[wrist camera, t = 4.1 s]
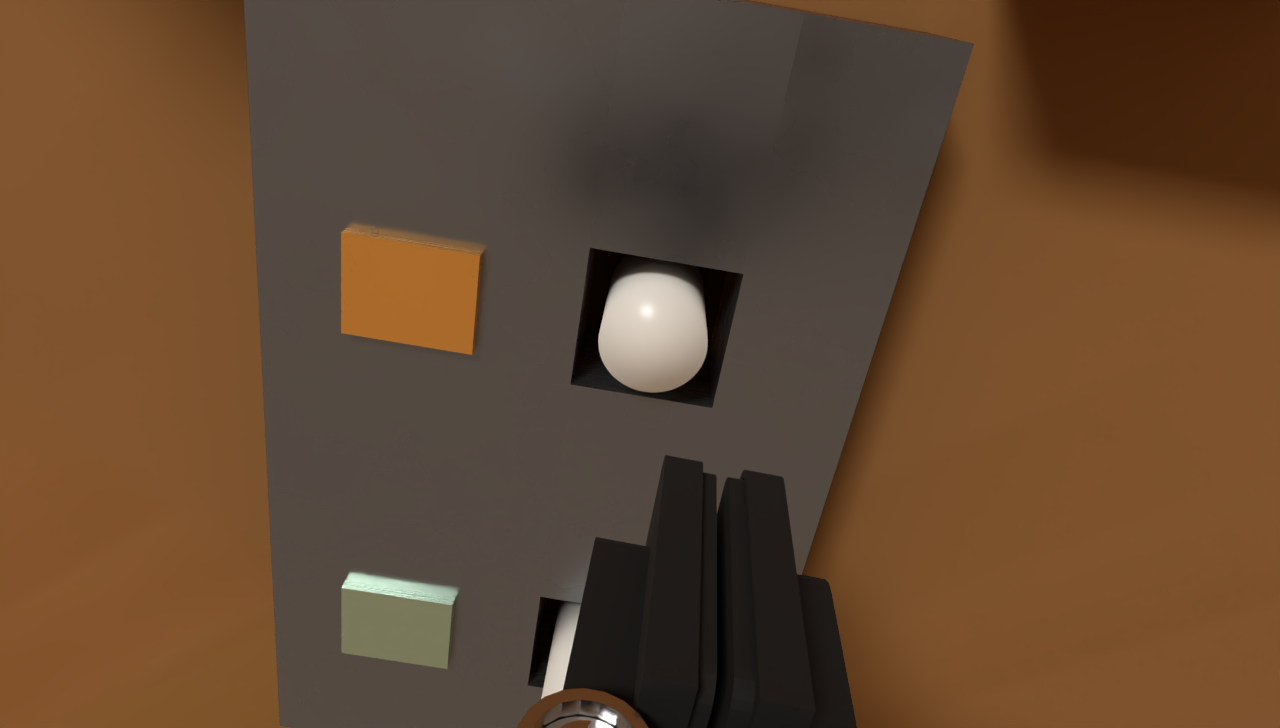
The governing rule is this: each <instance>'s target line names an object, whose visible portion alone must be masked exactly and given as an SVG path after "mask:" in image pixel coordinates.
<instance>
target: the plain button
mask: <svg viewBox="0 0 1280 728" xmlns="http://www.w3.org/2000/svg"><path fill="white" fill-rule="evenodd" d="M580 607H581V603H577V602H571V601H564V600H562V601H561V603H560V605H559V609H558V613H557V619H556V624H555V629H554V634H553V640H552V645H551V650H550V655H549V661H548V666H547V671H546V676H545V682H544V687H543V692H542V697H541V699H542V698H544V697H545V696H548V695H551V694H554V693H556V692H559V691H562V690H563V687H564V682H565V677H566V673H567V668H568V663H569V659H570V654H571V649H572V645H573V640H574V635H575V630H576V626H577V621H578V616H579V612H580Z"/></svg>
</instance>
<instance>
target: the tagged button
mask: <svg viewBox="0 0 1280 728" xmlns="http://www.w3.org/2000/svg"><path fill="white" fill-rule="evenodd" d="M598 346H599V352H600V356H601V359H602V361H603V363H604V365H605V367H606V368H607V370H608V371H609V372H610V373H611V375H612V376H613V377H614V378H616V379H617V380H618V381H619V382H621V383H622V384H624V385H626V386H628V387H630V388H632V389H635V390H639V391H643V392H665V391H669V390H672V389H675V388H677V387H679V386H681V385H683V384H685V383H686V382H688V381H689V380H690V379H691V378H692V377H694V376H695V374H696V373H697V372H698V371H699V369H700V368H701V366H702V364H703V362H704V360H705V357H706V354H707V347H708V339H707V326H706V312H705V299H704V286H703V279H702V276H701V273H700V271H699V269H698V267H697V266H694V265H688V264H682V263H676V262H670V261H665V260H659V259H653V258H647V257H641V256H635V255H630V254H627V255H626V256H624V257H623V258H622V259H621V260H620V262H619V263H618V264H617V266H616V268H615V270H614V272H613V275H612V278H611V282H610V287H609V291H608V296H607V300H606V305H605V309H604V314H603V318H602V323H601V327H600V332H599V338H598Z"/></svg>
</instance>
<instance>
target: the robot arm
mask: <svg viewBox="0 0 1280 728" xmlns="http://www.w3.org/2000/svg"><path fill="white" fill-rule="evenodd" d="M517 728H857V726H856V721H855V716H854V710H853V705H852V700H851V694H850V689H849V684H848V678H847V673H846V668H845V663H844V657H843V652H842V647H841V641H840V636H839V631H838V625H837V620H836V615H835V610H834V604H833V599H832V594H831V590H830V586H829V583H828V582H827V581H826V580H825V579H820V578H815V577H809V576H804V575H798V574H797V571H796V564H795V556H794V549H793V542H792V534H791V527H790V520H789V512H788V505H787V498H786V491H785V483H784V479H783V477H782V476H777V475H771V474H766V473H761V472H755V471H750V470H743V472H742V474H741V477H740V479H737V478H731V477H727V479H726V481H725V485H724V488H723V492H722V496H721V500H720V504H719V508H718V512H717V478H716V475H715V474H710V473H704V472H703V462H701V461H696V460H690V459H685V458H680V457H674V456H669V455H665V457H664V460H663V465H662V469H661V474H660V479H659V484H658V488H657V493H656V498H655V503H654V507H653V512H652V517H651V522H650V526H649V531H648V536H647V541H646V545H645V546H642V545H637V544H632V543H626V542H621V541H615V540H610V539H605V538H599V537H596V538H595V541H594V546H593V551H592V555H591V560H590V565H589V569H588V574H587V579H586V583H585V588H584V593H583V598H582V602H581V607H580V612H579V616H578V621H577V626H576V630H575V635H574V640H573V645H572V649H571V654H570V659H569V663H568V668H567V673H566V677H565V682H564V687H563V690H562V691H559V692H556V693H554V694H551V695H548V696H545V697H544V698H542V699H541V700H540V701H538V702H537V703H536V704H534V705H533V706H532V707H530V708H529V709H528V711H527V712H526V714H525V715H524V717H523V718H522V720H521V721H520V723H519V724H518V726H517Z"/></svg>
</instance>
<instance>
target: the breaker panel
mask: <svg viewBox="0 0 1280 728" xmlns="http://www.w3.org/2000/svg"><path fill="white" fill-rule="evenodd" d="M244 16H245V36H246V56H247V76H248V96H249V116H250V136H251V156H252V176H253V196H254V216H255V236H256V256H257V276H258V296H259V316H260V337H261V357H262V377H263V397H264V417H265V437H266V457H267V477H268V497H269V517H270V537H271V557H272V577H273V597H274V617H275V637H276V657H277V677H278V697H279V717H280V726H284V727H291V728H517V726H518V724H519V723H520V721H521V720H522V718H523V717H524V715H525V714H526V712H527V711H528V709H529V708H530V707H532V706H533V705H534V704H536V703H537V702H538V701H540V700H541V697H542V692H543V687H544V682H545V676H546V671H547V666H548V661H549V655H550V650H551V645H552V640H553V634H554V629H555V624H556V619H557V614H555V613H548V612H543V611H544V605H545V598H552V599H558V600H564V601H571V602H577V603H581V602H582V598H583V593H584V588H585V583H586V579H587V574H588V569H589V565H590V560H591V555H592V551H593V546H594V541H595V538H596V537H599V538H605V539H610V540H615V541H621V542H626V543H632V544H637V545H642V546H645V545H646V541H647V536H648V531H649V526H650V522H651V517H652V512H653V507H654V503H655V498H656V493H657V488H658V484H659V479H660V474H661V469H662V465H663V460H664V457H665V455H669V456H674V457H680V458H685V459H690V460H696V461H701V462H703V472H704V473H710V474H715V475H716V478H717V512H718V508H719V504H720V500H721V496H722V492H723V488H724V485H725V481H726V479H727V477H731V478H737V479H740V477H741V474H742V472H743V470H750V471H755V472H761V473H766V474H771V475H777V476H782V477H783V479H784V483H785V491H786V498H787V505H788V512H789V520H790V527H791V534H792V542H793V549H794V556H795V564H796V571H797V574H798V575H802V572H803V569H804V566H805V563H806V560H807V557H808V554H809V551H810V548H811V544H812V541H813V538H814V535H815V532H816V529H817V526H818V523H819V520H820V517H821V514H822V511H823V507H824V504H825V501H826V498H827V495H828V492H829V489H830V486H831V483H832V480H833V477H834V474H835V471H836V467H837V464H838V461H839V458H840V455H841V452H842V449H843V446H844V443H845V440H846V437H847V434H848V430H849V427H850V424H851V421H852V418H853V415H854V412H855V409H856V406H857V403H858V400H859V397H860V394H861V390H862V387H863V384H864V381H865V378H866V375H867V372H868V369H869V366H870V363H871V360H872V357H873V353H874V350H875V347H876V344H877V341H878V338H879V335H880V332H881V329H882V326H883V323H884V320H885V317H886V313H887V310H888V307H889V304H890V301H891V298H892V295H893V292H894V289H895V286H896V283H897V280H898V276H899V273H900V270H901V267H902V264H903V261H904V258H905V255H906V252H907V249H908V246H909V243H910V239H911V236H912V233H913V230H914V227H915V224H916V221H917V218H918V215H919V212H920V209H921V206H922V203H923V199H924V196H925V193H926V190H927V187H928V184H929V181H930V178H931V175H932V172H933V169H934V166H935V162H936V159H937V156H938V153H939V150H940V147H941V144H942V141H943V138H944V135H945V132H946V129H947V126H948V122H949V119H950V116H951V113H952V110H953V107H954V104H955V101H956V98H957V95H958V92H959V89H960V85H961V82H962V79H963V76H964V73H965V70H966V67H967V64H968V61H969V58H970V55H971V52H972V49H973V45H974V44H972V43H968V42H964V41H960V40H956V39H951V38H947V37H943V36H939V35H935V34H931V33H925V32H920V31H914V30H909V29H903V28H898V27H892V26H887V25H881V24H876V23H871V22H865V21H860V20H854V19H849V18H843V17H838V16H832V15H827V14H821V13H816V12H810V11H805V10H799V9H794V8H788V7H783V6H777V5H772V4H766V3H761V2H755V1H750V0H244ZM596 249H600V250H606V251H612V252H618V253H624V254H630V255H635V256H641V257H647V258H653V259H659V260H665V261H670V262H676V263H682V264H688V265H694V266H700V267H705V268H711V269H717V270H723V271H727V272H726V277H725V281H724V286H723V290H722V295H721V299H720V304H719V308H718V313H717V317H716V322H715V326H714V331H713V335H712V340H711V344H710V348H709V353H708V354H706V357H705V360H704V362H703V364H702V366H701V368H700V369H699V371H698V372H697V373H696V374H695V376H694V377H692V378H691V379H690V380H689V381H688V382H686V383H685V384H683V385H681V386H679V387H677V388H675V389H672V390H669V391H665V392H643V391H639V390H635V389H632V388H630V387H628V386H626V385H624V384H622V383H621V382H619V381H618V380H617V379H616V378H614V377H613V376H612V375H611V373H610V372H609V371H608V370H607V368H606V367H605V365H604V363H603V361H602V359H601V356H600V352H599V346H598V338H599V336H598V335H592V334H586V333H584V330H585V323H586V316H587V309H588V303H589V296H590V289H591V282H592V275H593V268H594V261H595V254H596Z"/></svg>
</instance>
